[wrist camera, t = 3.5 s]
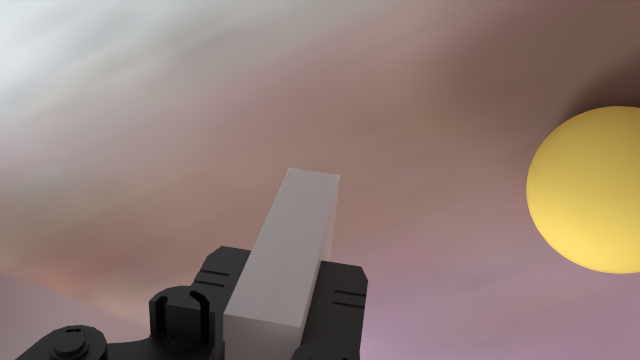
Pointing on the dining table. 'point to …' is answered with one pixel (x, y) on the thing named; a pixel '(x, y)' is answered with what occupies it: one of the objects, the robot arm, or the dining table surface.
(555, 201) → the ball
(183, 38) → the dining table surface
